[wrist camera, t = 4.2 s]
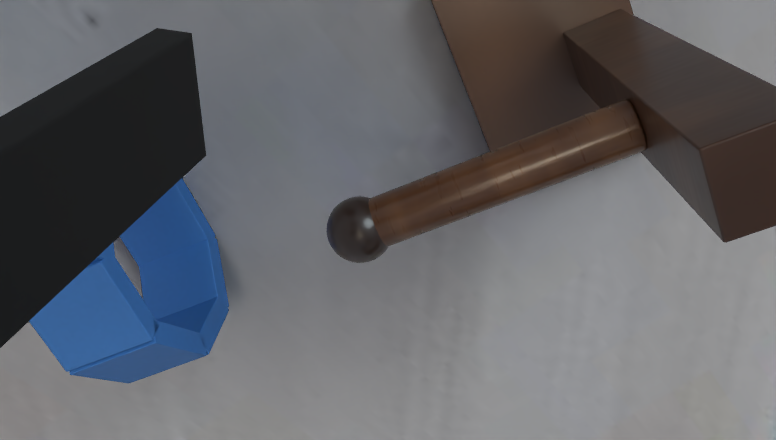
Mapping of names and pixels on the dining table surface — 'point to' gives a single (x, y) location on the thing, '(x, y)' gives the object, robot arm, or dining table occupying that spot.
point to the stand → (583, 120)
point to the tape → (142, 316)
